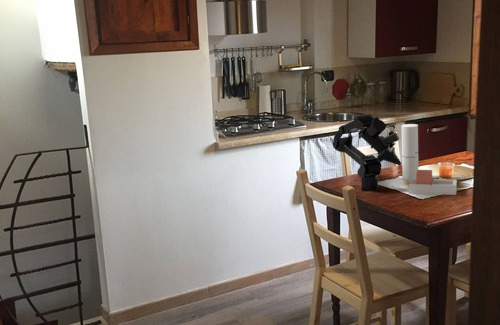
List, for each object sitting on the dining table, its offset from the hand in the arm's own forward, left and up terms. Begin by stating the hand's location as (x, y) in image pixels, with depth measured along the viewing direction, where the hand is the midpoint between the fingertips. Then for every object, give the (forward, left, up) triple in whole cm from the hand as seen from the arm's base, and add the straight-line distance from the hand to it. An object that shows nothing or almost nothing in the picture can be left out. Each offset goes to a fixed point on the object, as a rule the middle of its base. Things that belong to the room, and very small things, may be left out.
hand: (400, 164), depth 224 cm
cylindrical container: (+2, +19, -12) cm, 22 cm away
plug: (+10, 0, -12) cm, 15 cm away
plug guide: (+13, 0, -12) cm, 17 cm away
